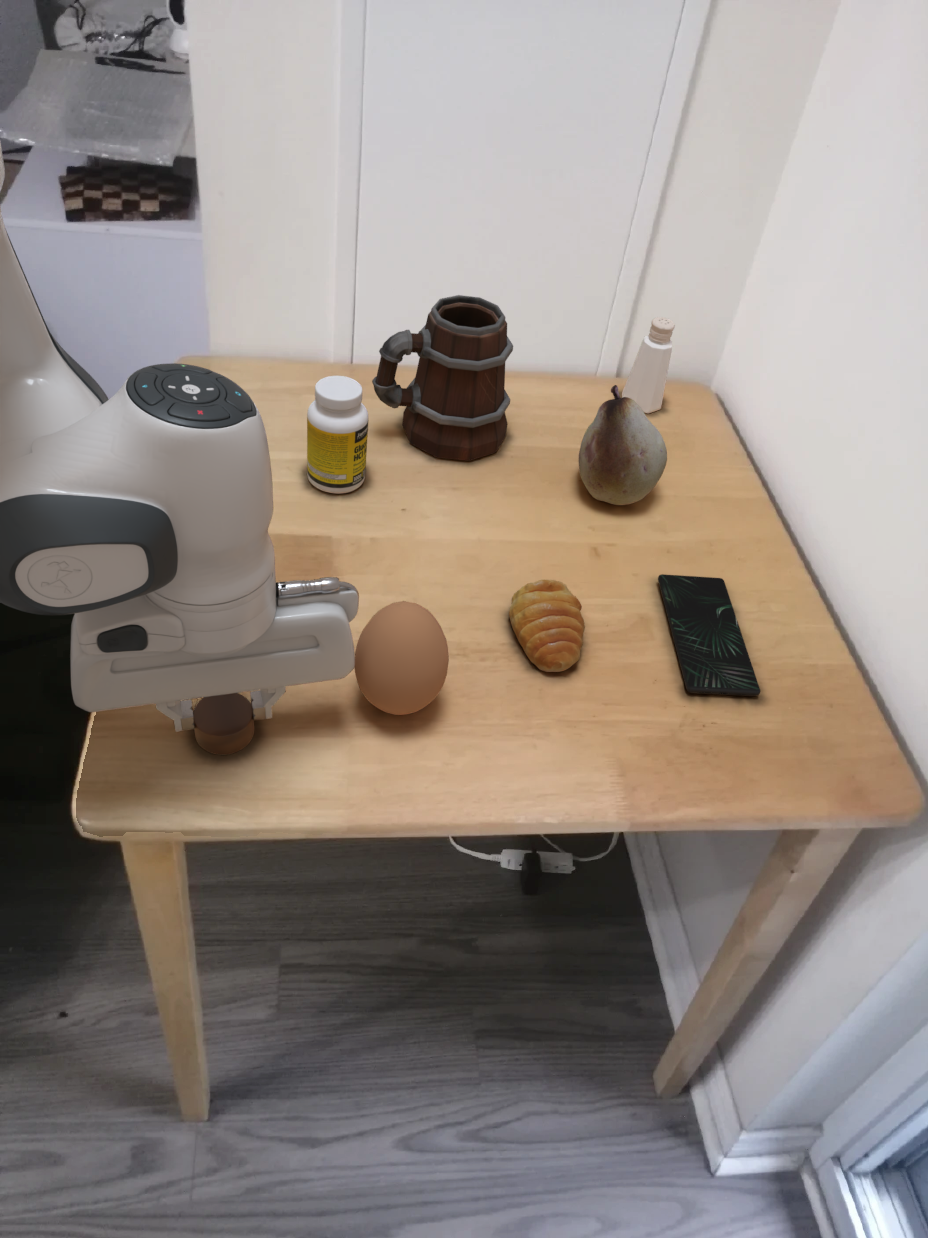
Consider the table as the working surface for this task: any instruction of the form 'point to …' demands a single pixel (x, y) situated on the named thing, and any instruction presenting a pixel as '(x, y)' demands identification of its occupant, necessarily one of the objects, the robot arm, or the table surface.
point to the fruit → (621, 453)
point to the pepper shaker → (651, 367)
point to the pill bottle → (337, 435)
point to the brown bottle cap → (223, 723)
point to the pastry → (548, 624)
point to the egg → (401, 658)
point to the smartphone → (707, 636)
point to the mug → (452, 379)
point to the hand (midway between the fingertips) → (223, 718)
